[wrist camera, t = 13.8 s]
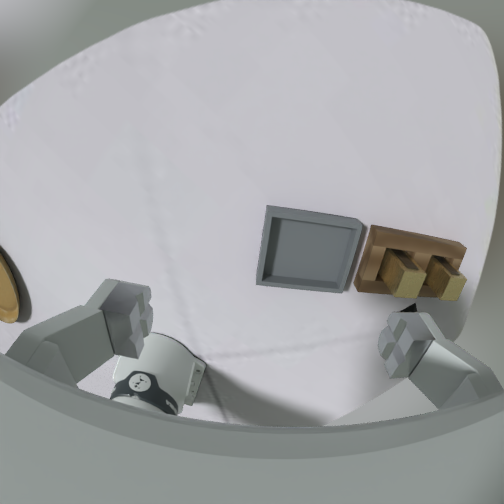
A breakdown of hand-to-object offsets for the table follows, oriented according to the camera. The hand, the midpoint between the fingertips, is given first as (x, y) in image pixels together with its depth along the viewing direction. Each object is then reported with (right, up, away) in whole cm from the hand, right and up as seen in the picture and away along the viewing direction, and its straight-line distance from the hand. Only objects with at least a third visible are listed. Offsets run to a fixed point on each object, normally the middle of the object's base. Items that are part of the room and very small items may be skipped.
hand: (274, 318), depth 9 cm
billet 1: (+21, +1, +31) cm, 38 cm away
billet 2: (+30, 0, +32) cm, 44 cm away
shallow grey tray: (+7, +3, +31) cm, 32 cm away
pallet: (+25, +1, +32) cm, 41 cm away
